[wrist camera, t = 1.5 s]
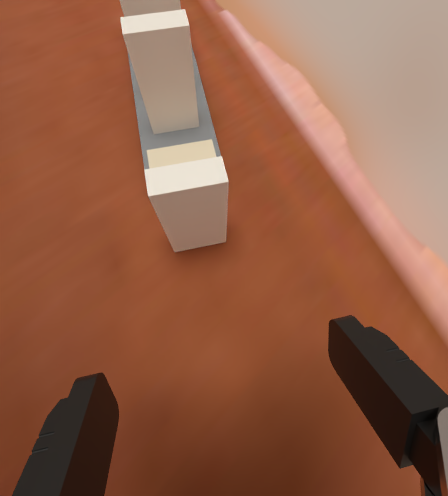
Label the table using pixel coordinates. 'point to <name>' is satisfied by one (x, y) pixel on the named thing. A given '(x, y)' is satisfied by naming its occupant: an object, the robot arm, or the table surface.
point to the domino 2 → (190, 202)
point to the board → (176, 132)
